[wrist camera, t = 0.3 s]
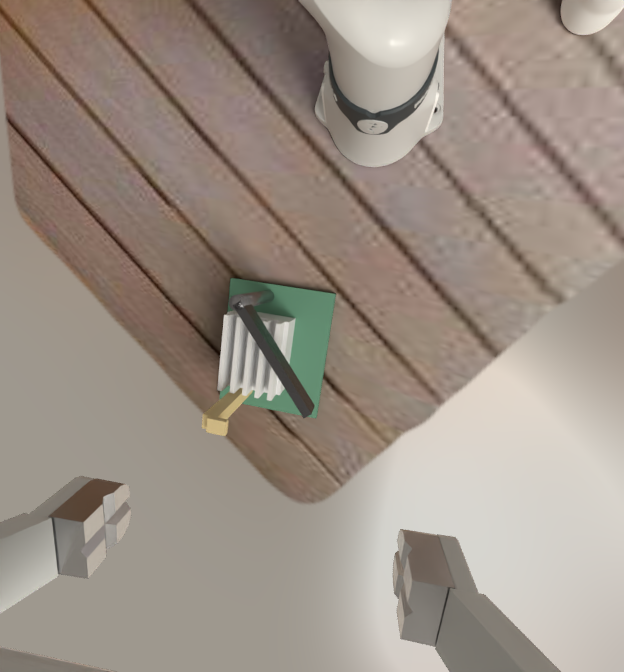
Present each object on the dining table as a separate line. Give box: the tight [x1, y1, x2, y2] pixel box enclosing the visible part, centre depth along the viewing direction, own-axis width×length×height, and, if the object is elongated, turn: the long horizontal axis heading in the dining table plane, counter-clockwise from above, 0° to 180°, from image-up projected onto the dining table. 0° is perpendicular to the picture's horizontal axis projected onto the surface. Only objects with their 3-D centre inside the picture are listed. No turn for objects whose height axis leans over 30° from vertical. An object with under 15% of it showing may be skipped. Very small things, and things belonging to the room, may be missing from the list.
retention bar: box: [229, 290, 315, 418], centre depth 49 cm, size 18×2×14 cm, turn 32°
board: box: [202, 278, 336, 436], centre depth 50 cm, size 22×18×17 cm
